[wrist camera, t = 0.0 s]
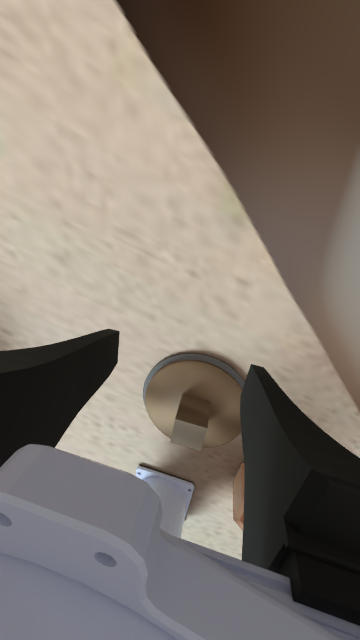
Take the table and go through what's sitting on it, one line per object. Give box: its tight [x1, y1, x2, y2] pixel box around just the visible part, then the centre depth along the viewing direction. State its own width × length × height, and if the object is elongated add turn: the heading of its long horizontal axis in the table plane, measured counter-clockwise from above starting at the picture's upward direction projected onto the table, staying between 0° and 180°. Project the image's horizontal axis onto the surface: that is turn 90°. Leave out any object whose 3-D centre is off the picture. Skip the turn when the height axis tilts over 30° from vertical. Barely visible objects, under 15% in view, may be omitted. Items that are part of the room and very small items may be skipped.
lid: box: [145, 360, 243, 451], centre depth 23 cm, size 11×11×4 cm
